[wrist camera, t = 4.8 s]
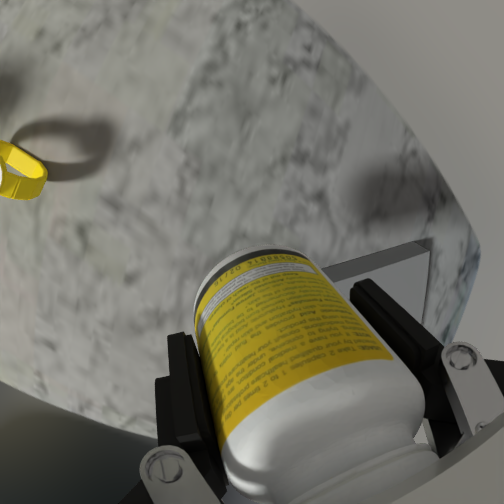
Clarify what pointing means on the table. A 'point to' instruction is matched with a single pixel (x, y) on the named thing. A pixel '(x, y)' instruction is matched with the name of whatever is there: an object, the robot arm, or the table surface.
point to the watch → (26, 164)
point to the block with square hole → (389, 275)
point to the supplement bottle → (302, 385)
